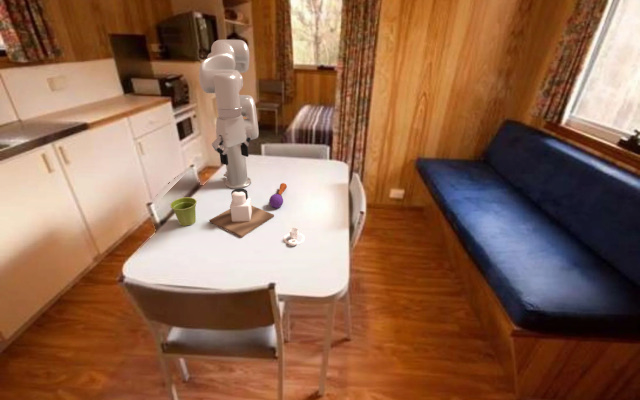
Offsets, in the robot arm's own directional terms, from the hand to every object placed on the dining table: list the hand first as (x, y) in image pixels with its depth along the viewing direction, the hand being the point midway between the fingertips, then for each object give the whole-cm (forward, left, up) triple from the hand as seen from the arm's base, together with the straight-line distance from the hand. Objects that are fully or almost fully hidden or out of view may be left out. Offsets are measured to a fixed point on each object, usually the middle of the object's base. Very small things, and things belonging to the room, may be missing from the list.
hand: (235, 159), depth 112 cm
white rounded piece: (+24, -1, -27) cm, 35 cm away
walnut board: (0, 0, -26) cm, 26 cm away
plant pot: (-16, -14, -26) cm, 34 cm away
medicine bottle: (0, 0, -25) cm, 25 cm away
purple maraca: (+1, +22, -26) cm, 34 cm away
